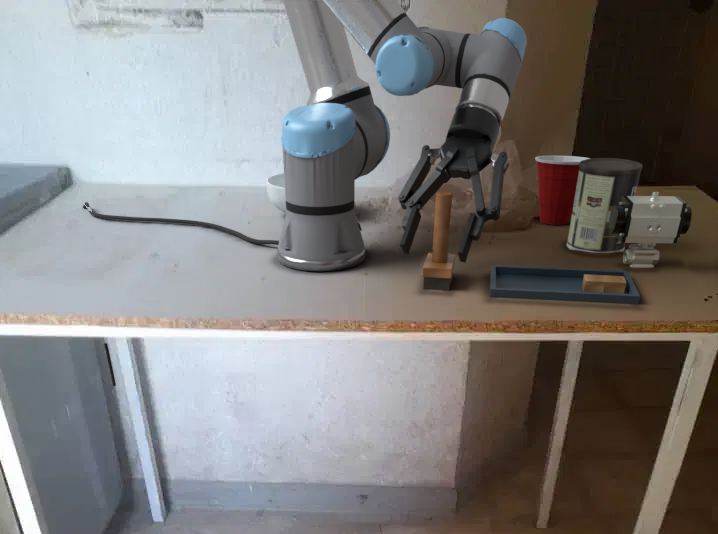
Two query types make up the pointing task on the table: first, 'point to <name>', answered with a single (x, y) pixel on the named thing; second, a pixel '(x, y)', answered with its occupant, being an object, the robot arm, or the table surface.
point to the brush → (440, 247)
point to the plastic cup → (557, 187)
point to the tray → (555, 284)
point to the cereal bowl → (277, 191)
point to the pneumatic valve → (648, 225)
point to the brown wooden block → (593, 283)
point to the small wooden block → (614, 284)
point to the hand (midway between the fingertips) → (432, 253)
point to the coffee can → (600, 202)
